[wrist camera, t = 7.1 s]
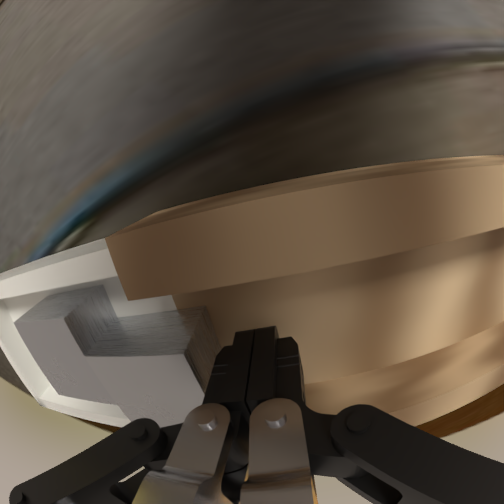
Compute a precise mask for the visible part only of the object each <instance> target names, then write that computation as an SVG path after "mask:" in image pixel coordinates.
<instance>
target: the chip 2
mask: <svg viewBox="0 0 504 504" xmlns="http://www.w3.org/2000/svg"><path fill="white" fill-rule="evenodd" d="M221 349H222V348H221V346H220V343H219V341H218V338H217V336H216V333H215V330H214V328H213V325H212V322H211V320H210V317H209V314H208V312H207V309H206V306H199V307H193V308H186V309H179V310H172V311H165V312H158V313H150V314H142V315H134V316H126V317H117V319H116V320H115V321H114V322H113V323H112V324H111V325H110V327H109V328H108V329H107V330H106V331H105V332H104V334H103V335H102V336H101V337H100V338H99V339H98V341H97V342H96V343H95V344H94V345H93V346H92V348H91V349H90V350H89V351H88V352H87V354H86V355H85V356H84V357H85V358H86V360H87V362H88V363H89V365H90V366H91V368H92V370H93V371H94V373H95V374H96V376H97V377H98V379H99V380H100V381H101V383H102V384H103V386H104V387H105V389H106V390H107V391H108V393H109V394H110V396H111V397H112V398H113V400H114V401H115V402H116V404H117V405H118V406H119V407H120V409H121V410H122V411H123V413H124V414H125V415H126V416H127V418H128V419H129V420H130V421H131V422H132V421H134V420H136V419H140V418H149V419H152V420H154V421H155V422H156V423H157V424H158V425H159V426H160V428H161V427H166V426H171V425H175V424H179V423H183V422H184V420H185V418H186V416H187V415H188V413H189V412H190V411H191V410H193V409H194V408H196V407H198V406H200V405H202V402H203V399H204V396H205V392H206V389H207V385H208V382H209V379H210V375H211V372H212V368H213V367H214V362H215V358H216V355H217V354H218V353H219V352H220V351H221Z"/></svg>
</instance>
